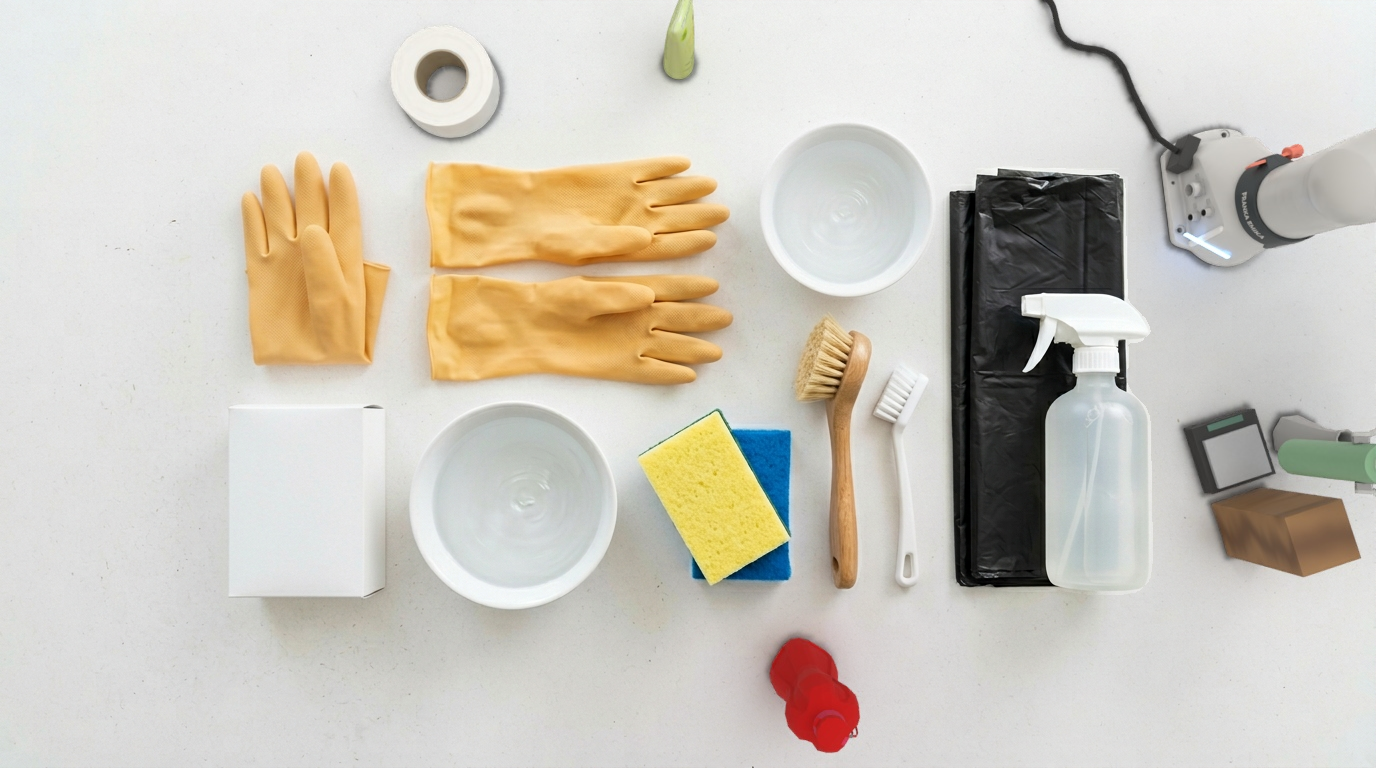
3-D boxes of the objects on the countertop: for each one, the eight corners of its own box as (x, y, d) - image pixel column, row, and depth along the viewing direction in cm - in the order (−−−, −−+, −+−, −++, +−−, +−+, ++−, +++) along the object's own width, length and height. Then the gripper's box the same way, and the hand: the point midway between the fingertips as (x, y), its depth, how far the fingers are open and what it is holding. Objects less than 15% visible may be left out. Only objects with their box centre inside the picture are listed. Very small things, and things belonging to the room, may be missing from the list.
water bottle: (818, 713, 123) (857, 792, 98) (760, 677, 123) (784, 747, 98) (849, 663, 123) (895, 730, 98) (791, 627, 123) (822, 685, 98)
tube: (700, 76, 125) (706, 16, 105) (671, 88, 125) (672, 31, 105) (686, 44, 125) (689, -22, 105) (657, 56, 125) (656, -7, 105)
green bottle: (1272, 445, 112) (1388, 453, 94) (1306, 434, 112) (1428, 440, 94) (1284, 479, 112) (1402, 494, 94) (1317, 468, 112) (1441, 481, 94)
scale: (1183, 428, 126) (1194, 429, 123) (1245, 408, 126) (1257, 408, 123) (1204, 492, 126) (1215, 494, 123) (1266, 472, 126) (1279, 473, 123)
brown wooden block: (1210, 503, 126) (1284, 517, 111) (1261, 486, 126) (1342, 498, 111) (1227, 556, 125) (1303, 577, 110) (1279, 539, 126) (1361, 558, 111)
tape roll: (493, 35, 124) (485, 18, 118) (506, 131, 124) (498, 119, 118) (396, 47, 123) (383, 30, 118) (408, 143, 123) (396, 131, 118)
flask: (1309, 462, 126) (1365, 468, 116) (1267, 453, 126) (1319, 458, 116) (1317, 419, 126) (1373, 421, 116) (1275, 410, 126) (1327, 411, 116)
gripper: (1501, 379, 90) (1346, 384, 100) (1513, 554, 90) (1356, 543, 99) (1497, 378, 95) (1349, 383, 104) (1509, 545, 94) (1359, 535, 104)
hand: (1353, 462), depth 102 cm, fingers closed on green bottle, 5 cm apart
